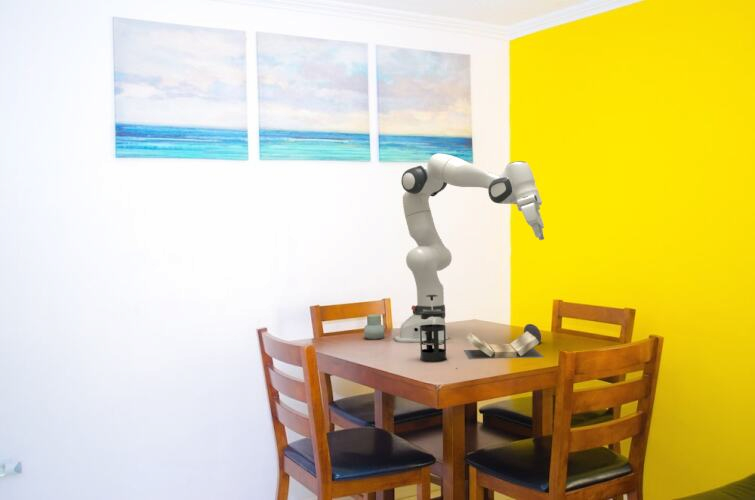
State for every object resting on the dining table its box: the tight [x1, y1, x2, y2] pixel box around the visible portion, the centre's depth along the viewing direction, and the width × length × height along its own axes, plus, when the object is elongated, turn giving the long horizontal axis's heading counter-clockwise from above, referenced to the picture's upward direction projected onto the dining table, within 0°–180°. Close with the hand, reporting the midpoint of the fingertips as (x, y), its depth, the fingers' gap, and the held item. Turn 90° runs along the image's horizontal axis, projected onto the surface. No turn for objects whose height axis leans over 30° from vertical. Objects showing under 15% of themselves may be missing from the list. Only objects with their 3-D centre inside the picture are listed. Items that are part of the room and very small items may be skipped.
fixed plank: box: [488, 343, 517, 359], centre depth 251 cm, size 7×16×2 cm, turn 179°
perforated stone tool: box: [523, 323, 542, 345], centre depth 275 cm, size 15×5×7 cm, turn 179°
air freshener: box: [363, 313, 385, 340], centre depth 299 cm, size 11×8×10 cm
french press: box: [419, 295, 448, 363], centre depth 248 cm, size 12×9×23 cm
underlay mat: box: [463, 347, 544, 360], centre depth 251 cm, size 26×18×1 cm
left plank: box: [466, 332, 494, 357], centre depth 251 cm, size 8×16×2 cm
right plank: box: [509, 331, 539, 356], centre depth 251 cm, size 8×16×2 cm
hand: (540, 238), depth 254 cm, fingers open, 8 cm apart
